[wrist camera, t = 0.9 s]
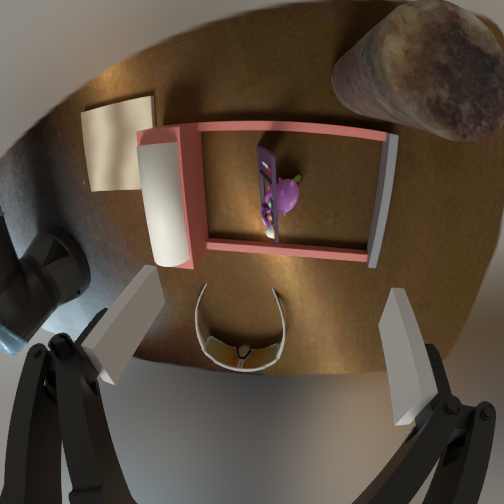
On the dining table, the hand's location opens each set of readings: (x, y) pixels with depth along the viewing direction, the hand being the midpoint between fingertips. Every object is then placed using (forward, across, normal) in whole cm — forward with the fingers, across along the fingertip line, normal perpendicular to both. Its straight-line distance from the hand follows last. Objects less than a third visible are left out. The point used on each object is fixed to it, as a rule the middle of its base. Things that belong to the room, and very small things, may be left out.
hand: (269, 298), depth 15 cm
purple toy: (+20, -1, +1) cm, 20 cm away
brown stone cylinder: (+20, +8, +13) cm, 25 cm away
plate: (+19, -22, +6) cm, 30 cm away
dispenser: (+19, -2, 0) cm, 19 cm away
